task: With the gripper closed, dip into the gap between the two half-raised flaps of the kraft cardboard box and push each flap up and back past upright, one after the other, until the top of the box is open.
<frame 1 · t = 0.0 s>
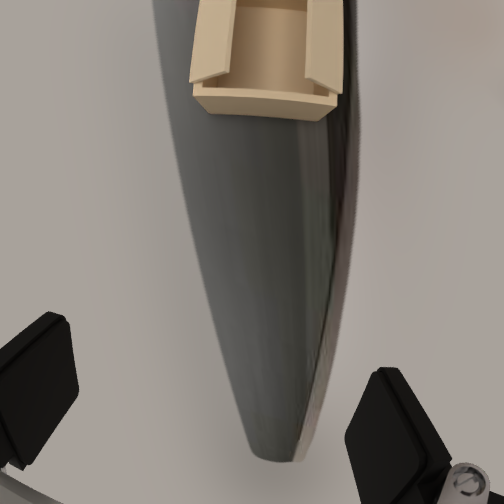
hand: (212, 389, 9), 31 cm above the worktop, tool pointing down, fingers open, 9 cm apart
flap two: (215, 12, 22), point 12 cm above the worktop, hinge at 45.0°
carton: (267, 56, 34), on the worktop
flap one: (326, 20, 22), point 12 cm above the worktop, hinge at 45.0°
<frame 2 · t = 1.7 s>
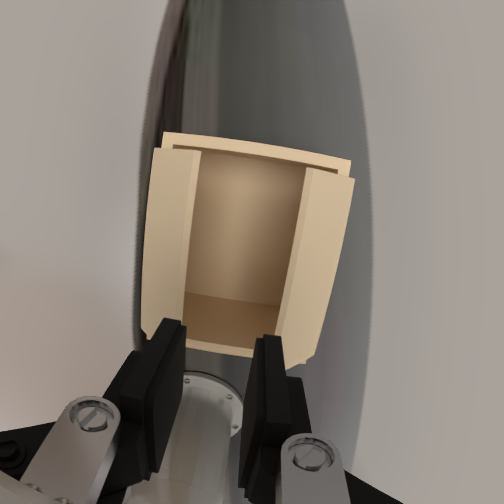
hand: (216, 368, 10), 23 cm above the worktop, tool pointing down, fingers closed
flap two: (312, 277, 21), point 12 cm above the worktop, hinge at 45.0°
carton: (245, 231, 32), on the worktop
flap one: (163, 254, 20), point 12 cm above the worktop, hinge at 45.0°
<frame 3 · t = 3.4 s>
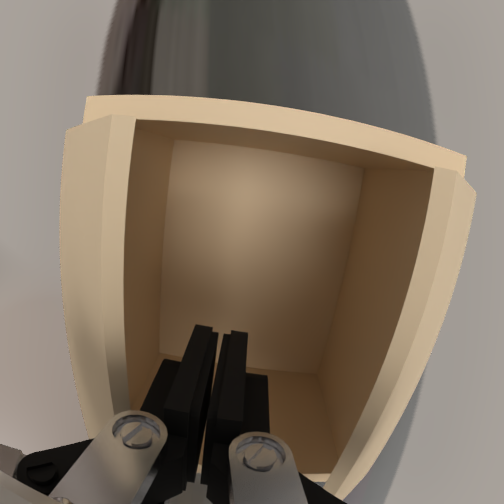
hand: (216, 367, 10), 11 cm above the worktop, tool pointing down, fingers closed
flap two: (396, 395, 9), point 12 cm above the worktop, hinge at 45.0°
carton: (253, 265, 20), on the worktop
flap one: (90, 356, 9), point 12 cm above the worktop, hinge at 45.1°, touching gripper
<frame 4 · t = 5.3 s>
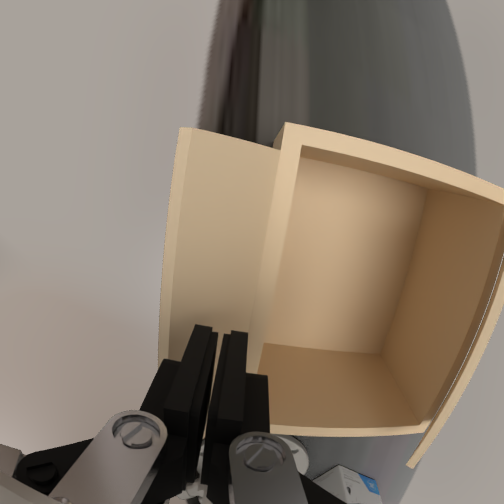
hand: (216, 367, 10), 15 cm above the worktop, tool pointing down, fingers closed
flap two: (477, 348, 12), point 12 cm above the worktop, hinge at 45.0°
ink box: (343, 480, 32), on the worktop
carton: (338, 263, 24), on the worktop
flap one: (211, 323, 12), point 12 cm above the worktop, hinge at 122.7°
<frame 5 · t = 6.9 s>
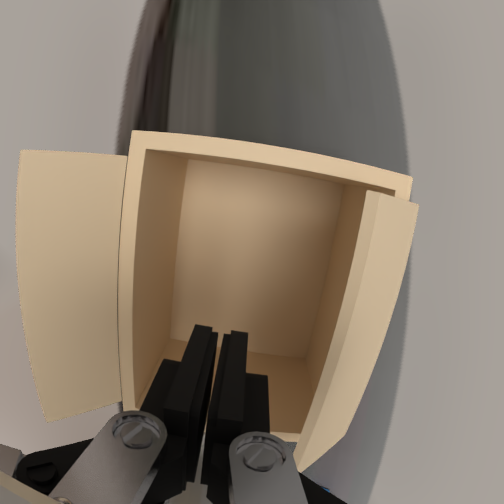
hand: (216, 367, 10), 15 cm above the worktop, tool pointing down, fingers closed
flap two: (357, 353, 13), point 12 cm above the worktop, hinge at 45.0°
carton: (251, 264, 25), on the worktop
flap one: (69, 302, 13), point 12 cm above the worktop, hinge at 130.9°
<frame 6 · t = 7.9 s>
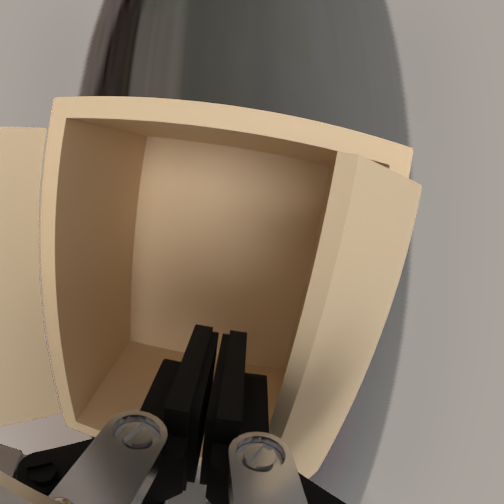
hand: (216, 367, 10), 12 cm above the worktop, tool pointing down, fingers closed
flap two: (329, 388, 9), point 12 cm above the worktop, hinge at 45.3°, touching gripper
carton: (219, 259, 21), on the worktop
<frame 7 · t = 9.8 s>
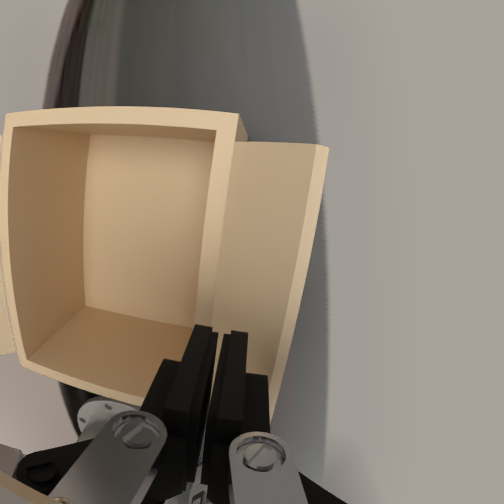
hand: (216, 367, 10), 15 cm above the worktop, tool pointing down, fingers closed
flap two: (245, 323, 12), point 12 cm above the worktop, hinge at 121.6°
ink box: (234, 473, 32), on the worktop
carton: (150, 231, 24), on the worktop
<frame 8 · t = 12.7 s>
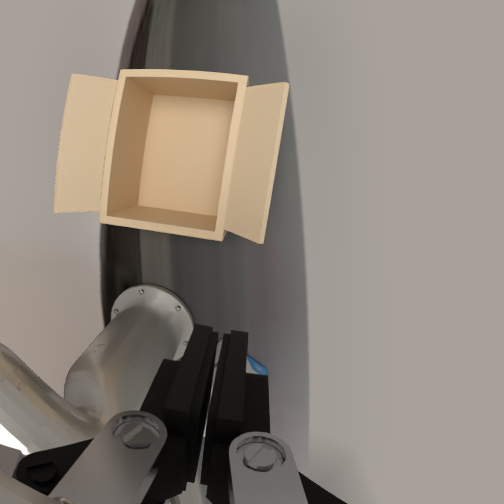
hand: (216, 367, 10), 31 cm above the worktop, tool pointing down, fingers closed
flap two: (254, 159, 27), point 12 cm above the worktop, hinge at 131.6°
ink box: (235, 362, 45), on the worktop
carton: (188, 153, 38), on the worktop
flap one: (83, 143, 26), point 12 cm above the worktop, hinge at 132.7°
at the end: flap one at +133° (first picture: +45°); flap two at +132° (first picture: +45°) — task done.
